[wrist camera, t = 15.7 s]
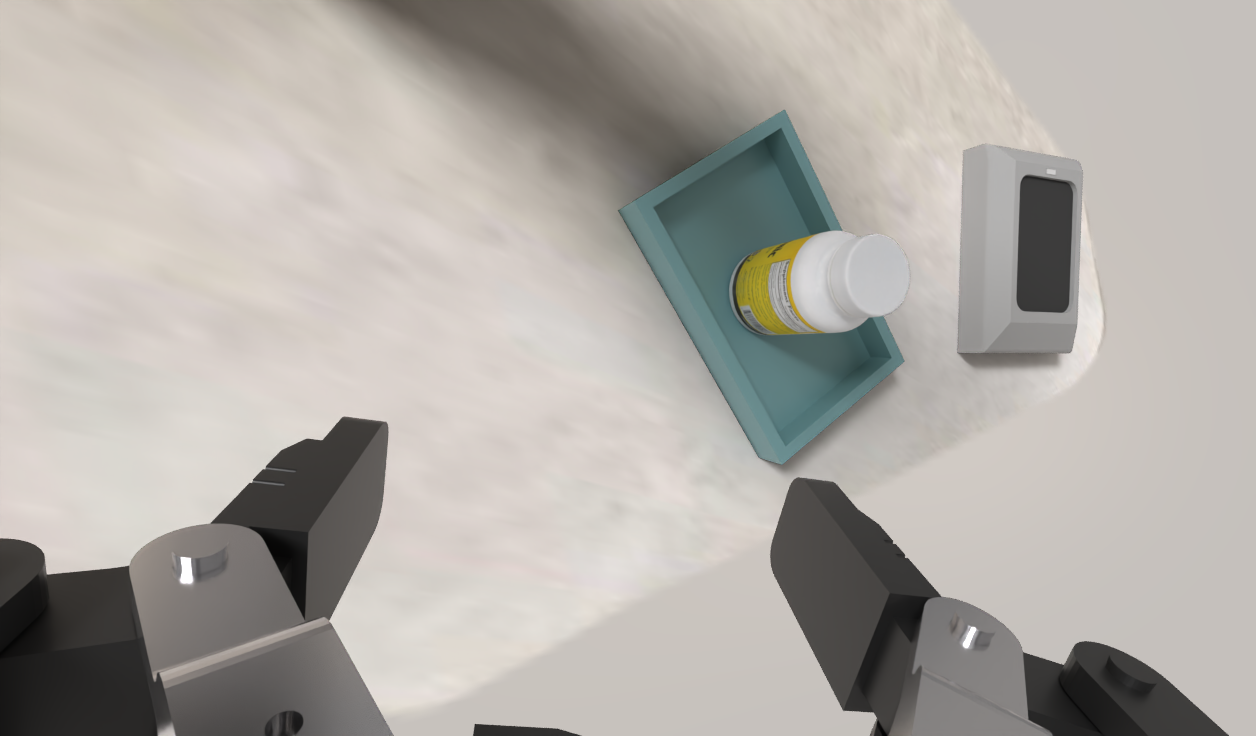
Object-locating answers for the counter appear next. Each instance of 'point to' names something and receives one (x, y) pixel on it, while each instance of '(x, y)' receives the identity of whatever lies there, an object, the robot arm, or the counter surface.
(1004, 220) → the gray beveled slab
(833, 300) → the supplement bottle
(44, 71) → the counter surface
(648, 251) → the tray
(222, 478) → the counter surface
